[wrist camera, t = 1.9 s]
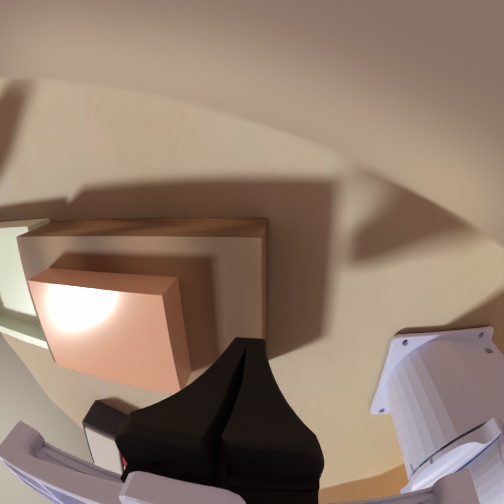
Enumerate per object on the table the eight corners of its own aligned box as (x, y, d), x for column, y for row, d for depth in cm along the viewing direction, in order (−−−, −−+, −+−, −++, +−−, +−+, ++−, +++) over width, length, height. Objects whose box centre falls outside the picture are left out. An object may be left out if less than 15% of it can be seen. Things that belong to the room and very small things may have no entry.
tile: (177, 276, 14) (162, 295, 12) (191, 372, 16) (181, 395, 14) (48, 267, 15) (27, 280, 13) (72, 348, 17) (57, 364, 15)
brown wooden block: (267, 218, 17) (261, 237, 13) (267, 361, 20) (261, 402, 16) (52, 221, 18) (16, 236, 15) (79, 335, 22) (54, 361, 18)
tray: (49, 218, 18) (27, 226, 16) (78, 338, 22) (62, 353, 19) (-22, 224, 20) (-39, 230, 18) (2, 316, 23) (-12, 326, 21)
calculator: (207, 508, 25) (91, 467, 24) (213, 481, 29) (102, 444, 29) (228, 478, 21) (78, 425, 21) (233, 444, 25) (95, 397, 25)
